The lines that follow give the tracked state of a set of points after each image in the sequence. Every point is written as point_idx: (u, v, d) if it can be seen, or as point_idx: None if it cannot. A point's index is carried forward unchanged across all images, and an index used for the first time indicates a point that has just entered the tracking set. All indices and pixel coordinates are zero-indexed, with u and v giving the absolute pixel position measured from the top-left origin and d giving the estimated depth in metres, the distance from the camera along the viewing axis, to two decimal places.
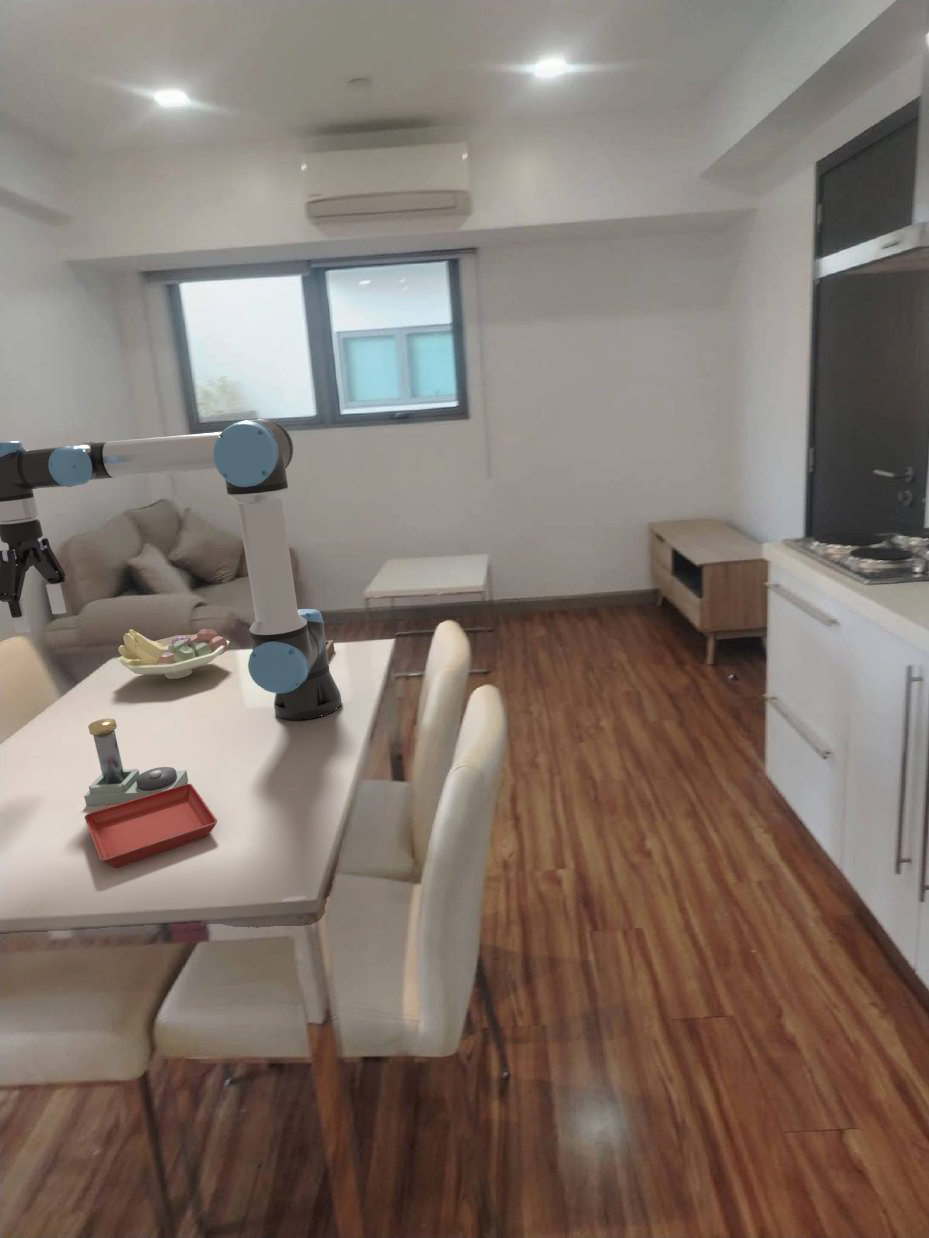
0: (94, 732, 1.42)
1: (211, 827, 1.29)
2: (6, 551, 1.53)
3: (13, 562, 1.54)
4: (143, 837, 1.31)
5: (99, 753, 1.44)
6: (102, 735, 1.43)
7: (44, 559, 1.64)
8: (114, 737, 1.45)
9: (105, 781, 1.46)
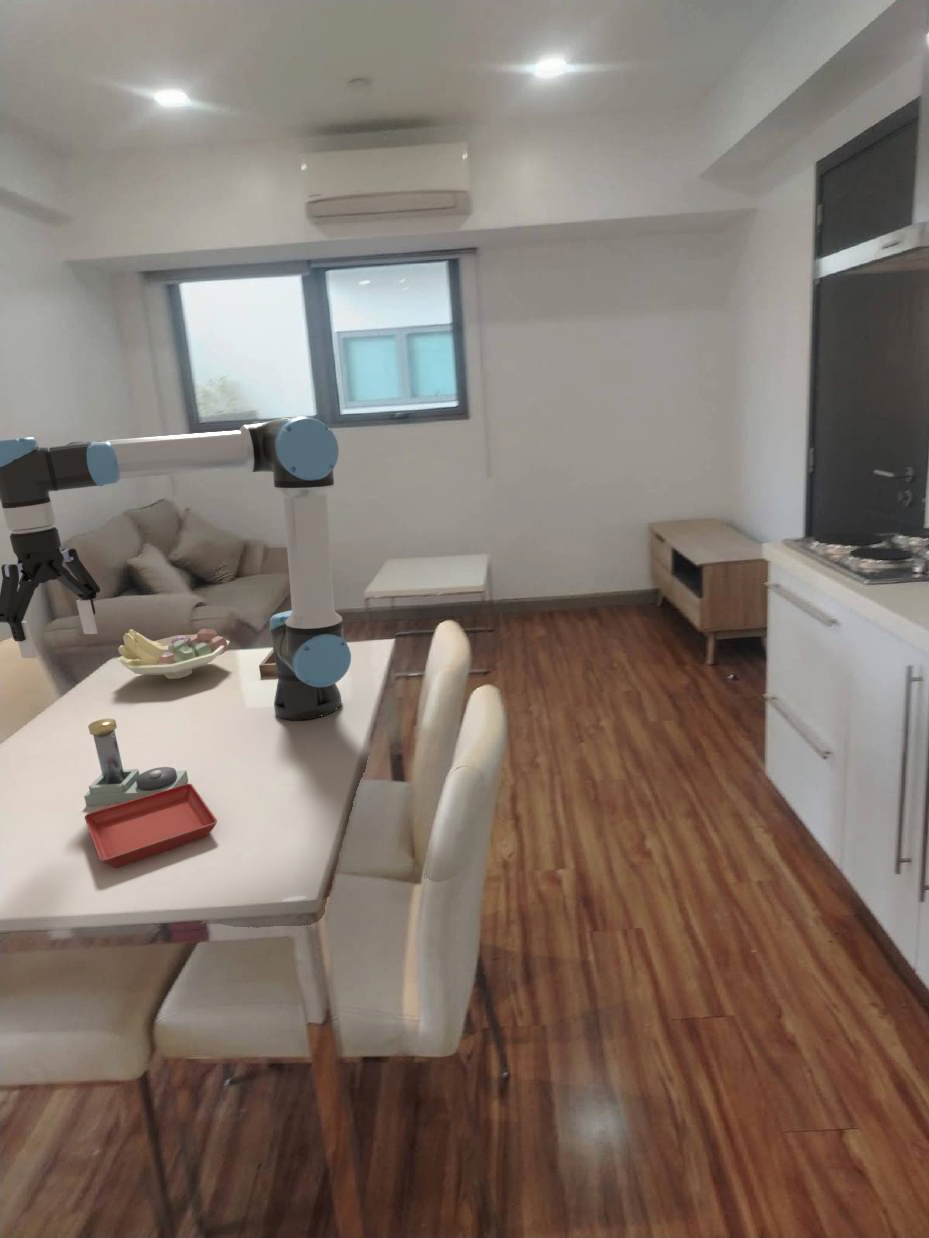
0: (94, 732, 1.42)
1: (211, 827, 1.29)
2: (8, 565, 1.33)
3: (15, 578, 1.34)
4: (143, 837, 1.31)
5: (99, 753, 1.44)
6: (102, 735, 1.43)
7: (65, 573, 1.42)
8: (114, 737, 1.45)
9: (105, 781, 1.46)
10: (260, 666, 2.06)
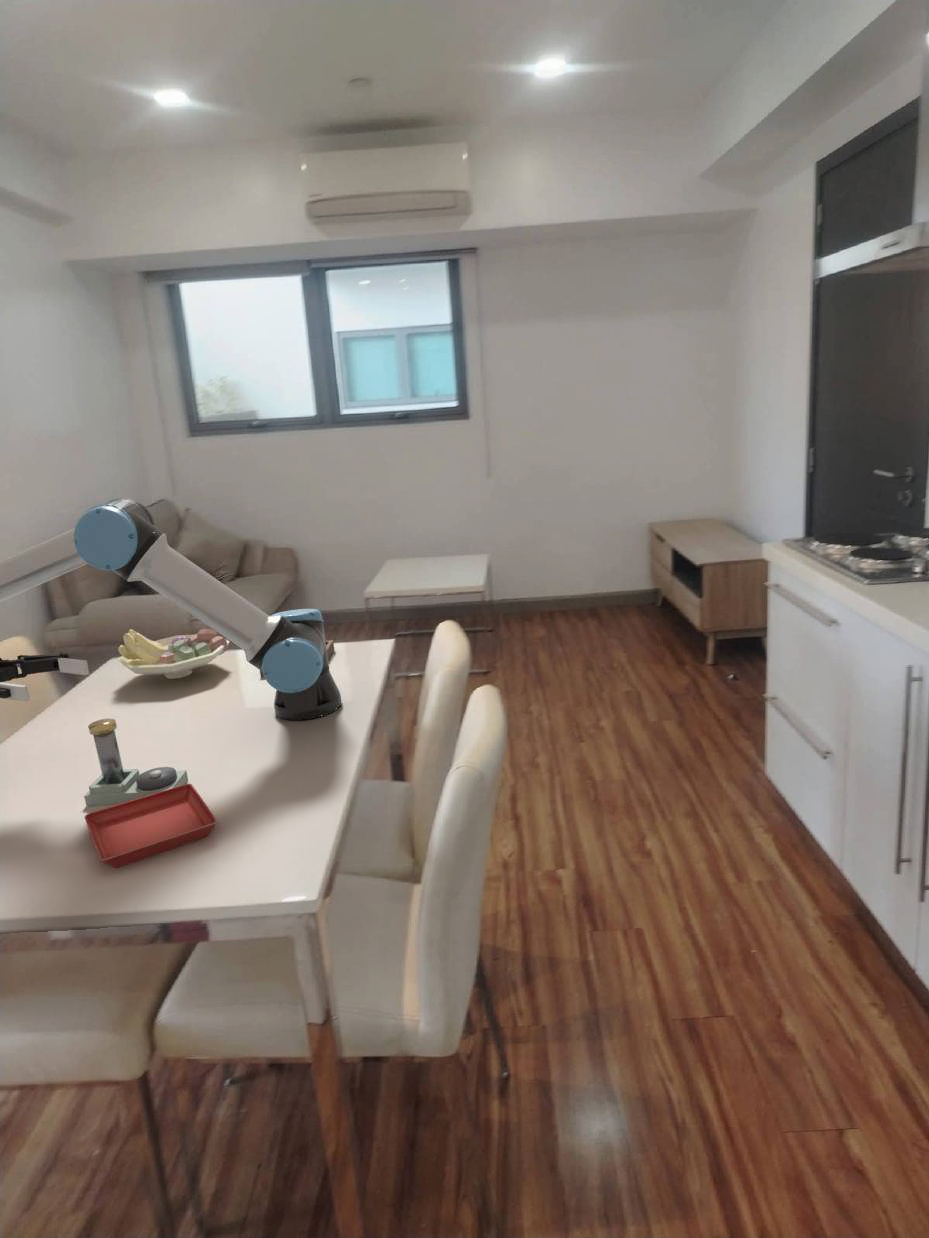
0: (94, 732, 1.42)
1: (211, 827, 1.29)
2: None
3: None
4: (143, 837, 1.31)
5: (99, 753, 1.44)
6: (102, 735, 1.43)
7: (19, 660, 1.52)
8: (114, 737, 1.45)
9: (105, 781, 1.46)
10: None
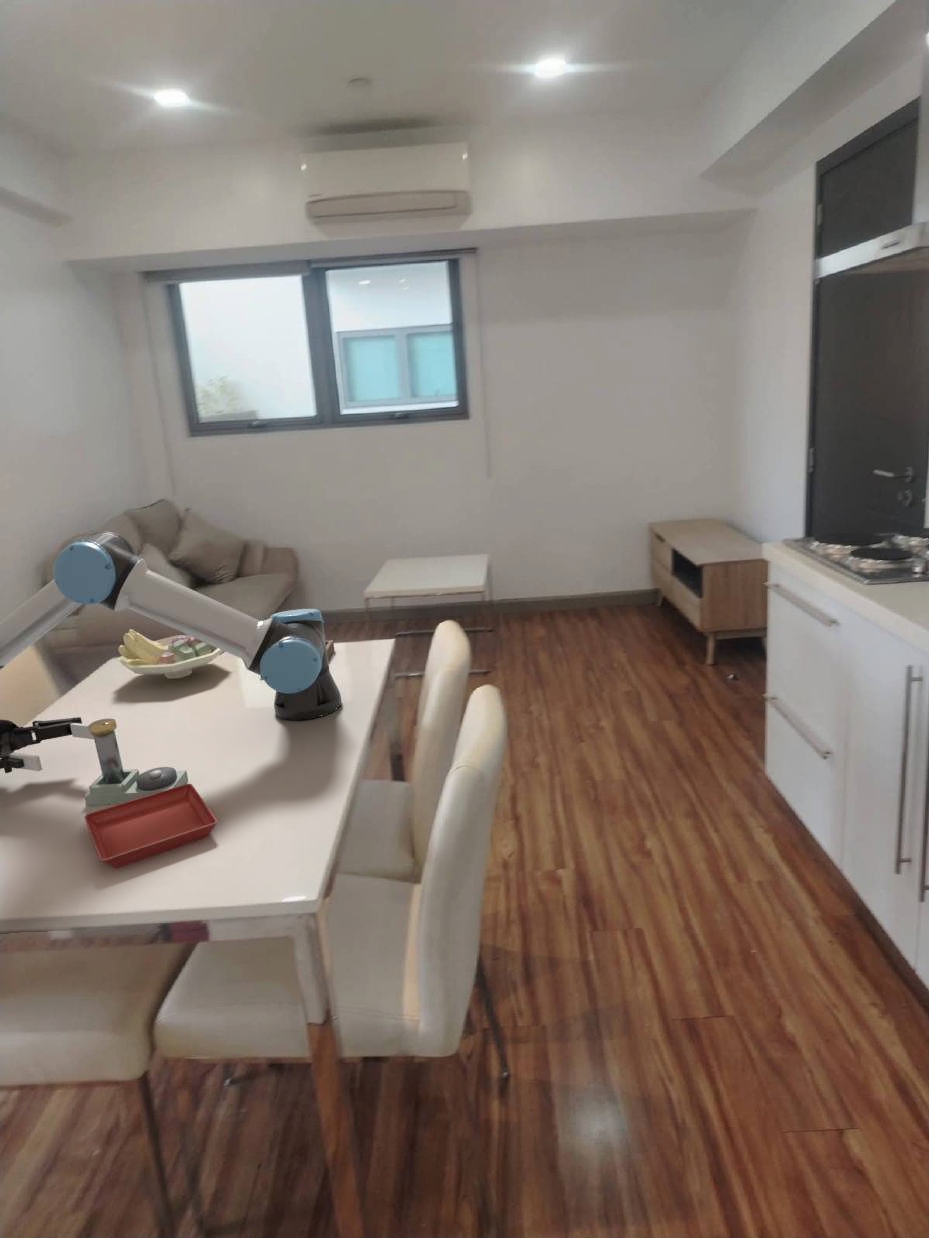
0: (94, 732, 1.42)
1: (211, 827, 1.29)
2: None
3: None
4: (143, 837, 1.31)
5: (99, 753, 1.44)
6: (102, 735, 1.43)
7: (33, 727, 1.56)
8: (114, 737, 1.45)
9: (105, 781, 1.46)
10: None
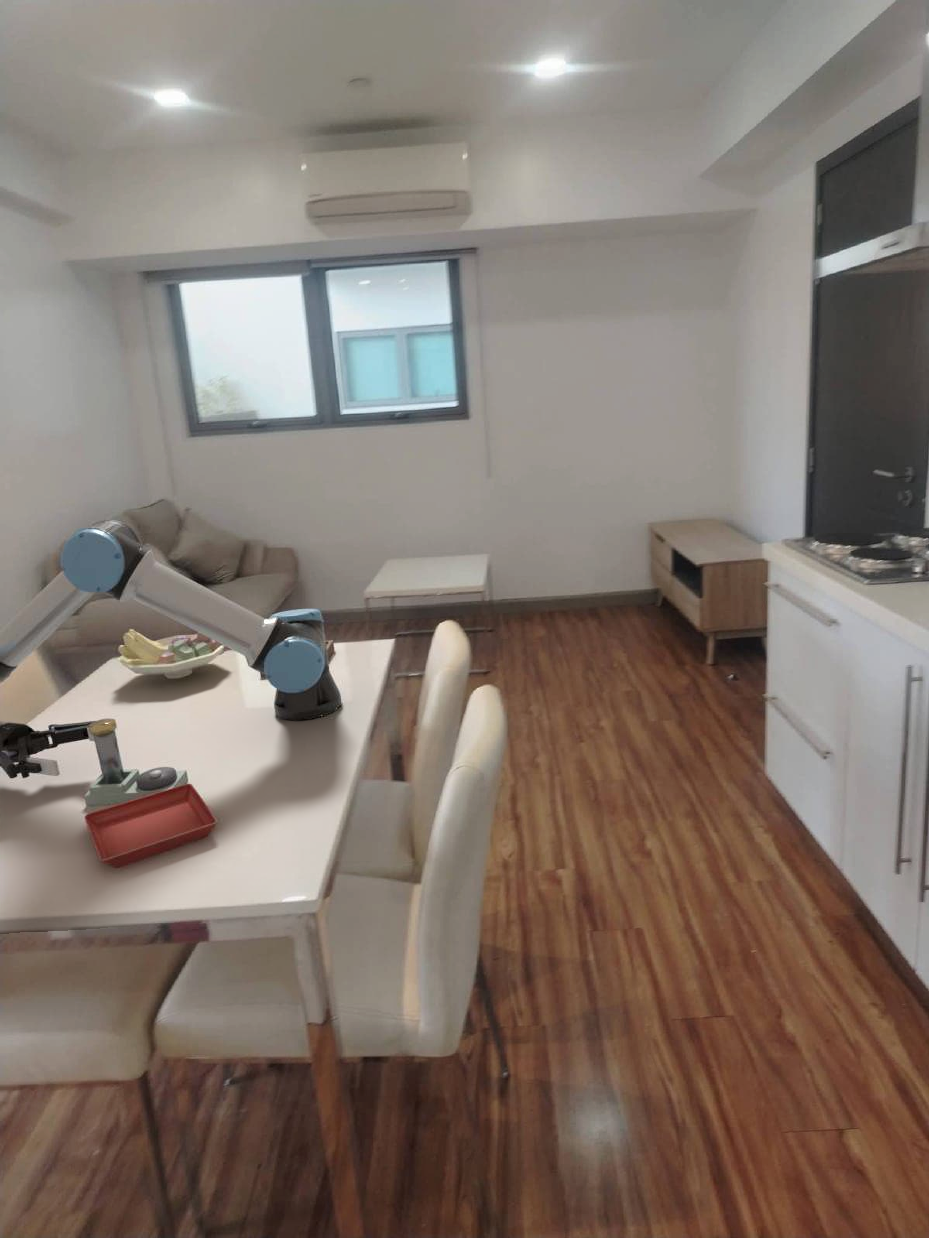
0: (94, 732, 1.42)
1: (211, 827, 1.29)
2: None
3: (1, 754, 1.47)
4: (143, 837, 1.31)
5: (99, 753, 1.44)
6: (102, 735, 1.43)
7: (49, 731, 1.54)
8: (114, 737, 1.45)
9: (105, 781, 1.46)
10: None
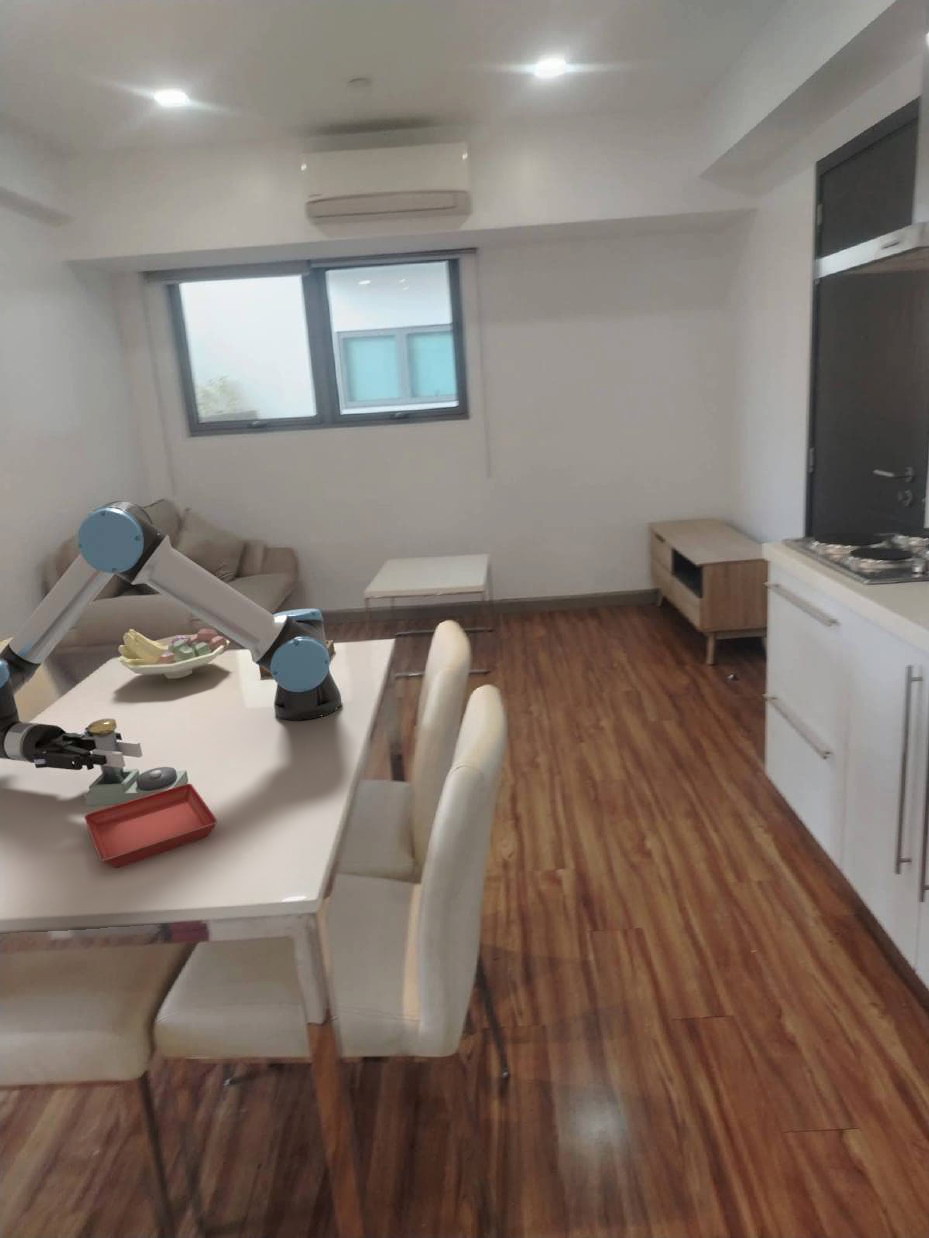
0: (94, 732, 1.42)
1: (211, 827, 1.29)
2: (34, 760, 1.44)
3: (46, 754, 1.44)
4: (143, 837, 1.31)
5: None
6: (102, 735, 1.43)
7: (78, 735, 1.50)
8: (114, 737, 1.45)
9: (105, 781, 1.46)
10: (260, 666, 2.06)
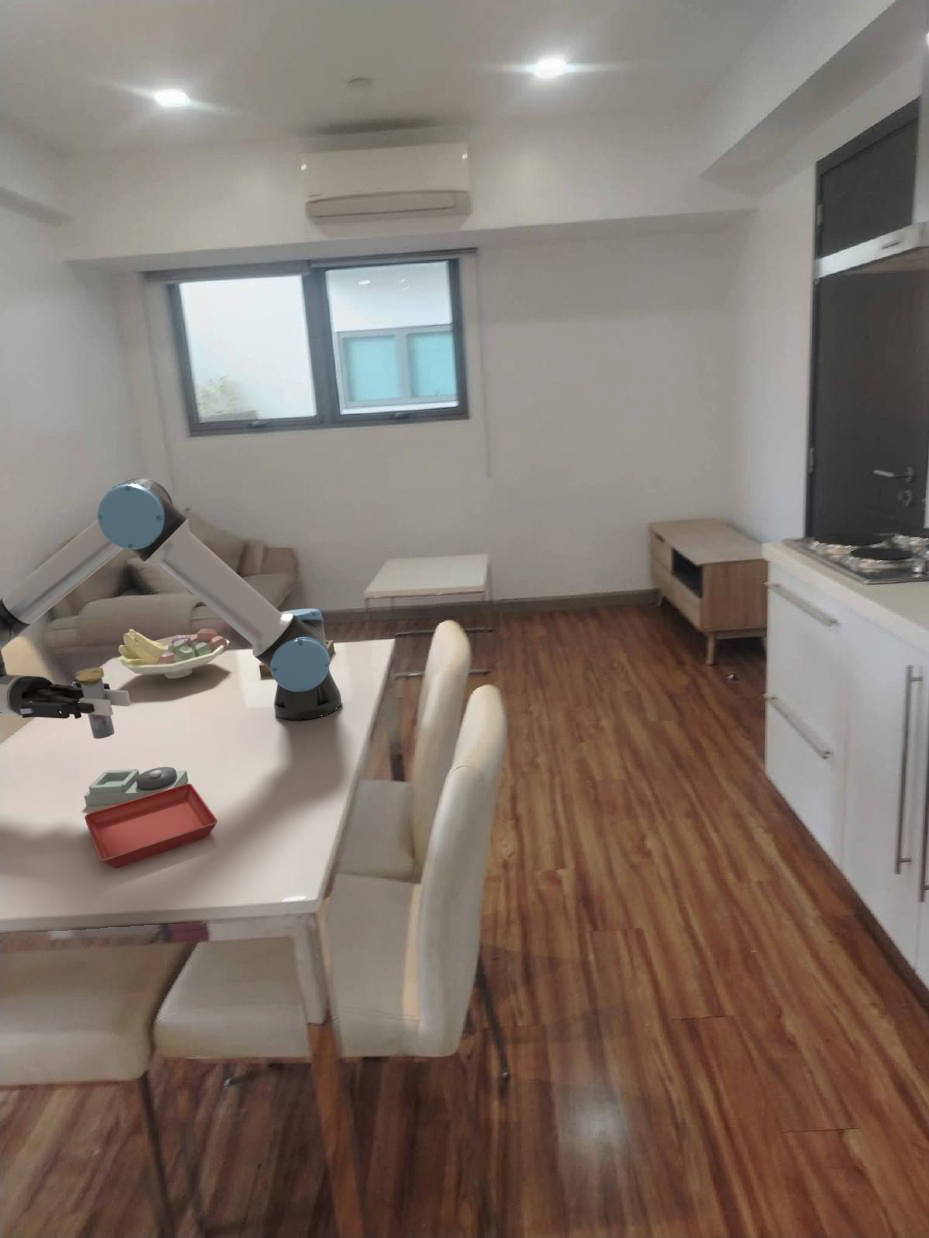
0: (81, 680, 1.40)
1: (211, 827, 1.29)
2: (20, 709, 1.41)
3: (32, 703, 1.42)
4: (143, 837, 1.31)
5: None
6: (89, 683, 1.40)
7: (66, 686, 1.47)
8: (102, 686, 1.42)
9: (93, 731, 1.43)
10: (260, 666, 2.06)
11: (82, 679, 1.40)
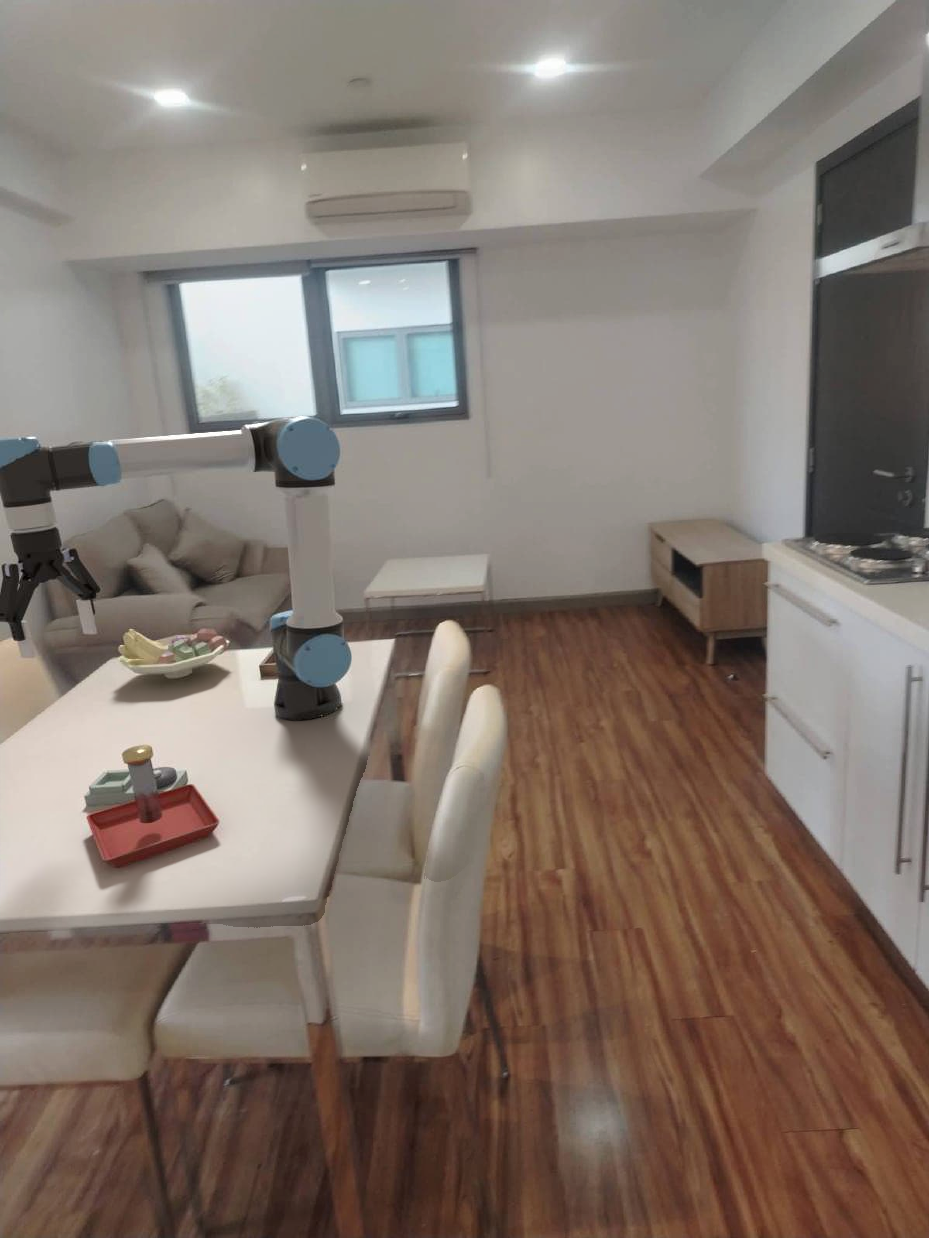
0: (129, 761, 1.27)
1: (213, 827, 1.30)
2: (8, 565, 1.33)
3: (15, 578, 1.33)
4: (145, 837, 1.31)
5: (134, 784, 1.29)
6: (137, 764, 1.28)
7: (66, 573, 1.42)
8: (150, 766, 1.30)
9: (140, 815, 1.31)
10: (260, 666, 2.06)
11: (130, 760, 1.27)
